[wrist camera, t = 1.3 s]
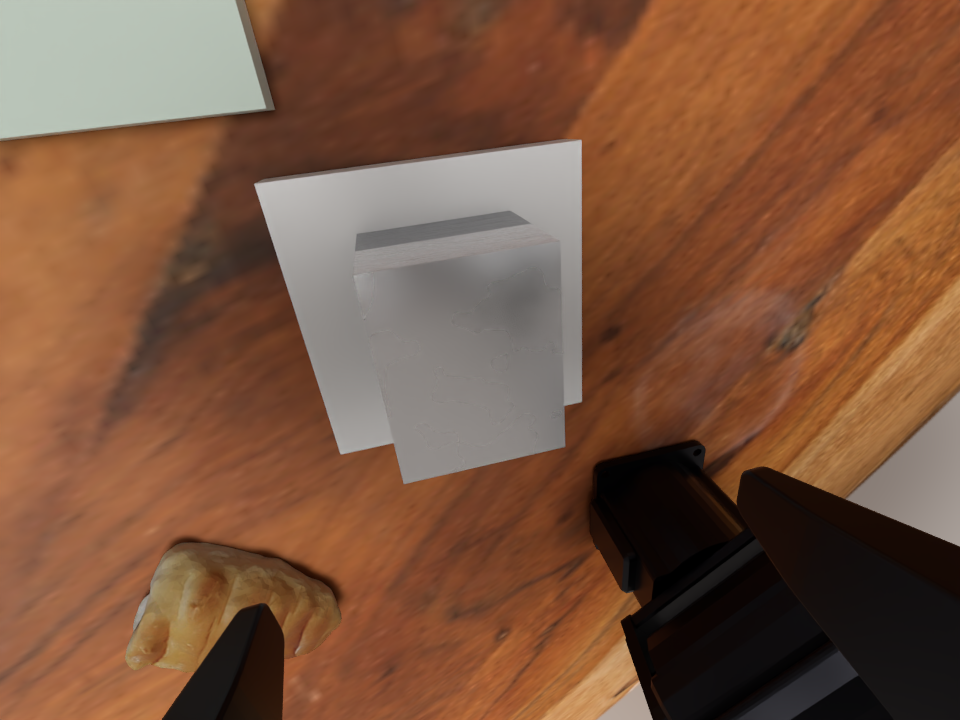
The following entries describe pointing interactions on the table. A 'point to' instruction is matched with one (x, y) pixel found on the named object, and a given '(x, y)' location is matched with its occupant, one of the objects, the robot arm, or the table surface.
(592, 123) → the table surface
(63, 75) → the stand
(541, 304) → the block
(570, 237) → the stand
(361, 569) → the table surface
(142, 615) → the pastry
